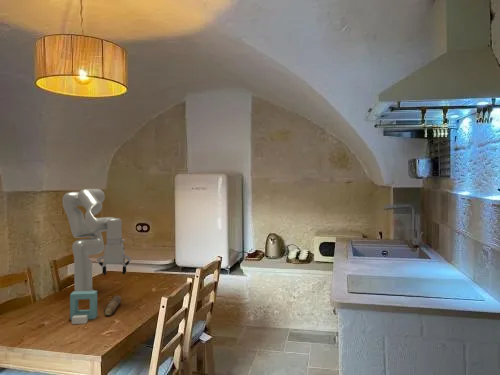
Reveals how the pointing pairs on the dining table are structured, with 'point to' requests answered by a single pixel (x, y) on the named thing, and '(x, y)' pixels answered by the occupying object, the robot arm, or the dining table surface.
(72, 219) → the robot arm
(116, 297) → the dowel
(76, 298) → the teal square frame
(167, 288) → the dining table surface
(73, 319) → the block
